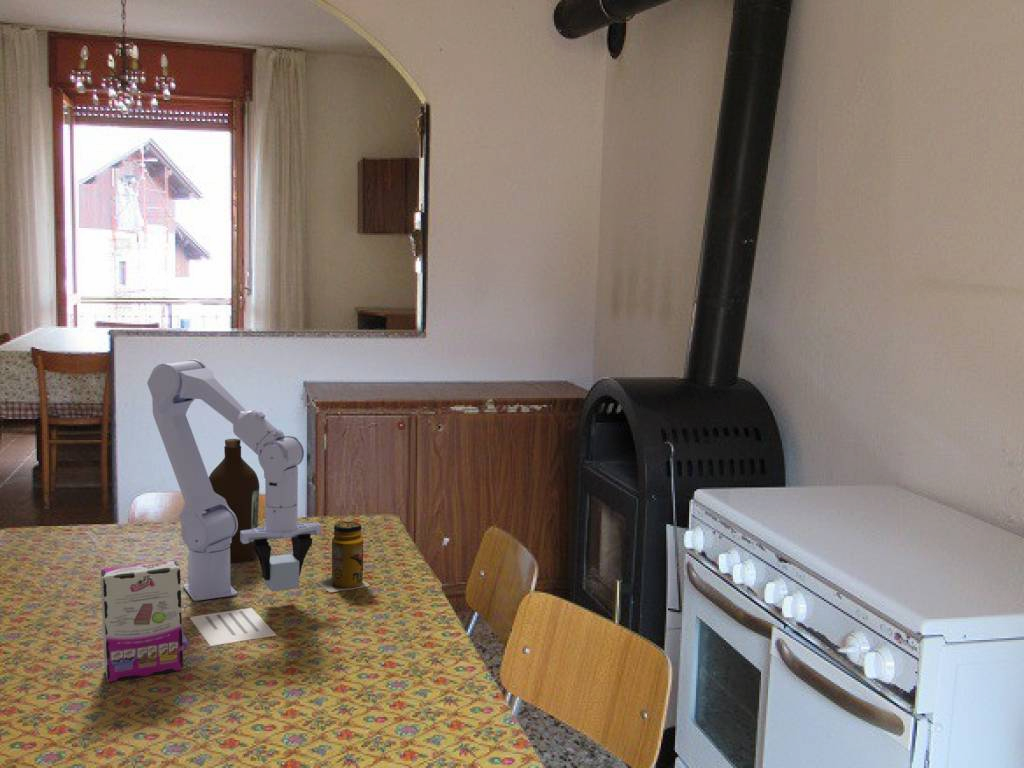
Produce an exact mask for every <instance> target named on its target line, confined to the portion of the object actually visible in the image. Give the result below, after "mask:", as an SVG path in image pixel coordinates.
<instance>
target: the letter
mask: <svg viewBox="0 0 1024 768" xmlns="http://www.w3.org/2000/svg"><path fill="white" fill-rule="evenodd" d="M189 618H190V620H191V622H192V623H193V625H194V626H195V627H196V629H197V630H198V631H199V633H200V634H201V635H202V637H203V638H204V640H205V641H206V642H207V643H208V646H209V647H215V646H221V645H226V644H234V643H239V642H245V641H252V640H256V639H262V638H269V637H274V636H277V634H276V632H274V631H273V629H272V628H271V627H270V625H268V624H267V623H266V622H265V621H264V619H262V617H261V616H260V615H259V614H258V613H257V612H256V611H255V609H253V607H248V608H242V609H236V610H229V611H220V612H216V613H209V614H202V615H196V616H189Z"/></svg>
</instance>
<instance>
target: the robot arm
mask: <svg viewBox="0 0 1024 768" xmlns="http://www.w3.org/2000/svg"><path fill="white" fill-rule="evenodd" d="M146 384H147V387H148V389H149V392H150V395H151V398H152V399H151V400H152V401H151V402H152V415H153V417H154V418H153V419H154V421H155V424H156V427H157V429H158V432H159V434H160V438H161V440H162V443H163V446H164V448H165V451H166V453H167V457H168V459H169V462H170V465H171V467H172V471H173V473H174V476H175V478H176V481H177V484H178V487H179V489H180V493H181V494H182V498H183V501H184V504H183V506H182V508H181V510H180V512H179V513H178V519H179V520H180V526H181V528H180V529H181V530H180V534H181V538H182V540H183V542H184V544H185V545H186V547H187V550H188V554H187V569H188V570H187V575H188V576H187V579H188V581H187V582H188V583H184V584H182V585H183V586H182V587H183V588H184V591H186V593H187V594H188V595H189V597H191V599H192V600H193V601H195V602H199V601H204V600H205V601H206V600H211V599H216V598H217V599H218V598H219V599H220V598H225V597H232V596H233V597H234V596H237V595H238V592H237V590H235V588H234V587H233V586H232V584H231V563H230V543H232V537H233V536H234V535H235V533H236V532H237V529H238V521H237V517H236V515H235V514H234V512H233V511H232V510H231V509H230V508H229V506H228V505H227V502H226V500H225V499H224V498H223V497H221V496H220V495H218V494H216V493H215V492H214V491H213V488H212V485H211V482H210V480H209V474H208V472H207V469H206V466H205V463H204V461H203V457H202V456H201V453H200V450H199V447H198V444H197V441H196V439H195V436H194V433H193V431H192V429H191V426H190V425H191V424H190V422H189V420H188V417H187V413H188V410H189V408H190V406H191V404H193V402H194V401H195V400H200V401H203V402H204V403H205V404H207V405H208V406H209V407H210V408H211V409H213V410H214V411H215V412H216V413H218V414H219V415H221V416H222V417H223V418H224V419H226V421H228V422H230V423H231V424H232V428H233V429H232V430H233V434H234V436H236V437H237V439H240V440H241V442H242V443H244V444H245V445H246V446H247V447H248V448H249V449H250V450H251V451H252V452H254V454H256V455H257V459H258V463H259V465H260V467H261V468H262V471H263V479H264V481H265V482H264V483H265V488H264V489H265V490H264V491H265V504H264V505H265V510H264V511H265V517H264V518H265V523H264V524H265V526H258V528H254V529H250V530H244V531H240V541H241V542H242V543H243V544H247V543H249V542H251V544H252V546H253V548H254V550H255V552H256V554H257V556H256V557H257V560H258V561H259V566H260V568H261V574H262V578H263V580H264V579H265V580H266V581H267V580H270V556H271V552H272V546H271V545H270V542H269V541H271V540H280V539H288V538H289V539H290V538H291V544H292V545H291V547H292V555H293V556H294V557H295V558H296V559H297V560H298V561H299V577H300V576H301V572H302V568H303V564H304V562H305V558H306V557H307V556H306V555H307V554H308V552H309V549H311V546H312V544H313V538H312V537H311V536H321V535H322V528H323V527H322V524H320V523H319V522H304V523H303V522H301V523H300V522H298V520H299V519H298V511H299V510H298V506H299V505H298V504H299V503H298V501H299V498H298V497H299V496H298V493H299V492H298V489H299V488H298V486H299V485H298V484H299V482H298V481H299V479H298V478H299V469H298V468H299V465H300V464H301V463H302V462H303V461H304V457H305V450H304V447H303V445H302V442H300V441H299V440H298V437H296V436H294V435H285V433H284V432H283V431H282V430H281V429H277V428H276V427H275V426H274V425H273V424H272V423H271V422H269V420H267V419H266V414H264V413H263V412H262V411H259V412H258V410H254V409H253V410H246V409H245V407H244V406H242V405H241V403H240V402H239V401H238V400H236V398H235V397H234V396H233V395H232V394H230V392H228V390H227V389H226V388H225V387H224V386H223V385H222V384H221V383H220V382H219V381H218V380H217V379H216V378H215V375H214V372H213V370H212V369H210V368H208V367H207V366H206V365H205V364H204V363H203V362H202V361H201V360H199V359H189V360H187V361H179V362H170V363H160V364H157V365H156V366H155V367H154V368H153V369H152V371H151V373H150V376H149V378H148V380H147V382H146Z"/></svg>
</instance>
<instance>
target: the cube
mask: <svg viewBox="0 0 1024 768" xmlns="http://www.w3.org/2000/svg"><path fill="white" fill-rule="evenodd" d="M263 583H264V585H265V586H266V587H267V588H268V589H269V590H270V592H272V593H273V592H279V591H287V590H295V589H299V588H300V576H299V561H298V560H297V559H296V558H295V557H294V556H293V554H292V553H288V554H279V555H270V580H267V581H266V580H265V579H264V578H263Z"/></svg>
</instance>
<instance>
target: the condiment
mask: <svg viewBox="0 0 1024 768" xmlns="http://www.w3.org/2000/svg"><path fill="white" fill-rule="evenodd" d="M315 583H316V584H317V585H319V586H320V587H321V588H323V589H324V590H326V591H327V592H329V593H331V594H332V593H336V592H341V591H343V592H344V591H347V590H348V591H349V590H356V589H361V588H368V587H370V586H371V584H369V583H368V582H366V581H364V538H363V536H362V525H361V523H359V522H357V521H340V522H337V523H336V524H334V526H333V537H332V539H331V578H329V579H323V580H321V579H320V580H319V579H318V580H315Z"/></svg>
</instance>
